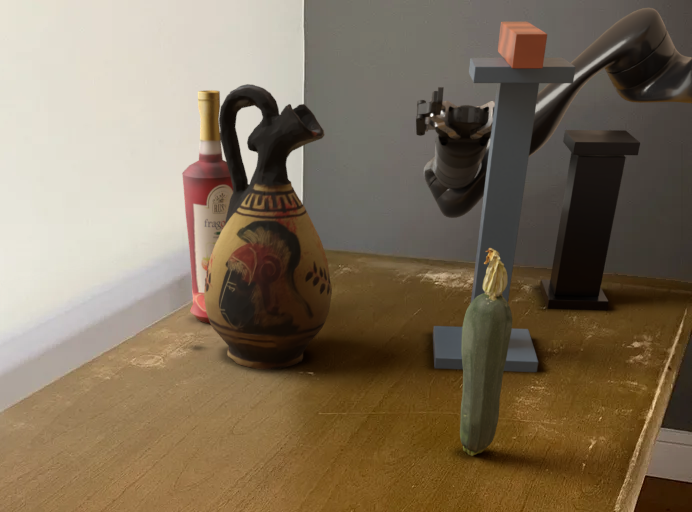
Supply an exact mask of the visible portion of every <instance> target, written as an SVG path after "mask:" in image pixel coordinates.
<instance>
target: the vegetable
mask: <svg viewBox="0 0 692 512" xmlns="http://www.w3.org/2000/svg"><path fill="white" fill-rule="evenodd" d="M485 252H489V253H488V256H487V257H486V262H485V263H484V264H487V263H488V262H489V261H490V263H489V265H488V268H487V270H486V275H485V278H484V281H483V290H484V292H485V293H483V294H481V295H479V296H477V297H476V298H475V299H474V300H473V301H472V302H471V301H470V304H469V305H468V306H467V309H466V311H465V314H464V318H463V321H462V327H463V328H462V349H461V353H462V364H463V369H462V372H463V373H462V395H461V404H460V422H459V423H460V425H459V438H460V443H461V445H462V450H463V452H464V453H467V455H469V456H470V457H474V456H475V455H477V454H482V453H483V452H484V451H485V450H486V449H487V448H488V447H489V446H490V445H491V444H492V442H493V440H494V438H495V435H496V431H497V427H498V423H499V417H500V404H501V403H500V402H501V401H500V400H501V391H502V383H503V376H504V372H505V371H504V366H505V362H506V358H507V352H508V345H509V341H510V336H511V330H512V329H513V314H512V309H511V307H510V304H509V301H508V302H507V301H506V300H505V299H504V298H503V296H502V292H503V291H504V290H505V288H506V286H507V272H506V269H505V268H504V264H503V263H502V262H501V261H500V257H499V255H500V254H499V253H498V252H497V251H496V250H494V249H492V248H489V249H488V251H485ZM489 258H490V260H489Z"/></svg>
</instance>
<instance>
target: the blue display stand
mask: <svg viewBox="0 0 692 512" xmlns="http://www.w3.org/2000/svg"><path fill="white" fill-rule="evenodd" d="M575 68H576V67H575V66H574V65H572V64H571V62H570V61H568V60H567V59H565V58H564V57H544V62H543V68H542V69H513V68H511V66H510V65H509V64H508V63H507V62H506V60H505V59H504V58H503V57H470V59H469V68H468V75H469V76H470V78H471V81H472V83H474V84H496V91H495V99H494V102H495V106H494V114H493V122H492V131H491V139H490V147H489V155H488V164H487V172H486V180H485V189H484V196H483V197H482V205H481V213H480V214H481V215H480V222H479V232H478V238H477V248H476V256H475V264H474V272H473V280H472V290H471V295H470V296H471V297H470V303H471V302H472V301H473V300H474V299H475V298H476V297H477V296H479V295H481V294H483V293H485V292H484V290H483V281H484V278H485V275H486V270H487V268H488V265H489V263H490V261H489V262H488V263H487V264H484V263H485V262H486V257H487V256H488V253H489V252H485V251H488V249H489V248H492V249H494V250H496V251H497V252H498V253H499V254H500V255H499V257H500V261H501V262H502V263H503V264H504V268H505V269H506V272H507V286H506V288H505V290H504V291H503V292H502V296H503V298H504V299H505V300H506V301H507V302H508V303H509V298H510V291H511V284H512V278H513V277H512V276H513V269H514V262H515V255H516V248H517V242H518V234H519V227H520V220H521V215H522V214H521V213H522V206H523V201H524V200H523V199H524V193H525V187H526V179H527V171H528V166H529V165H528V164H529V159H530V157H529V151H530V144H531V137H532V130H533V123H534V116H535V109H536V102H537V95H538V93H539V89H540V88H539V87H540V84H549V83H573V80H574V74H575ZM489 260H490V258H489ZM462 328H463V326H452V325H451V326H447V325H433V330H432V347H433V364H434V366H433V368H434V369H443V370H444V369H445V370H446V369H447V370H463V364H462V353H461V349H462ZM538 366H539V360H538V356H537V353H536V349H535V347H534V343H533V339H532V337H531V332H530V331H529V329H528V328H512V330H511V336H510V341H509V345H508V352H507V358H506V362H505V366H504V371H503V372H519V373H520V372H522V373H537V372H538Z"/></svg>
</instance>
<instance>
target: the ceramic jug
mask: <svg viewBox="0 0 692 512" xmlns="http://www.w3.org/2000/svg"><path fill="white" fill-rule="evenodd" d="M254 106H255V107H256V108H257V109H259V110H260V112H261V116H262V118H261V121H260V122H259V123H258V124H257V125H256V126H255V127H254V129H253V130H252V131H251V133H250V134H249V136H248V137H247V142H246V144H247V148H248V149H247V150H248V151H251V152H254V153H257V162H256V167H255V170H254V171H253V174H252V177H251V179H250V182H249V179H248V175H247V172H246V168H245V164H244V161H243V157H242V153H241V147H240V142H239V137H238V133H237V128H236V126H237V125H236V124H237V115H238V112H239V111H240V110H242V109H245V108H250V107H254ZM219 129H220V139H221V148H222V152H223V155H224V159H225V161H226V162H227V166H228V169H229V173H230V176H231V181H232V186H233V194H232V196H231V198H230V203H229V207H228V212H227V216H226V221H225V227H224V228H223V230H222V231H221V233H220V236H219V238H218V240H217V242H216V244H215V246H214V248H213V252H212V254H211V257H210V261H209V262H208V265H207V272H206V278H205V290H204V299H205V306H206V313H207V316H208V318H209V321H210V323H209V324H210V326H211V327H212V329H213V330H214V332H215V333H216V334H217V335H218V336H219V337H220V338H221V339H222V340H223V341H224V342H225V344H226V345H227V346H228V347H227V353H226V354H227V357H228V358H229V359H231V360H232V361H234V363H236V364H237V365H240V366H243V367H248V368H252V369H257V370H278V369H284V368H287V367H291V366H294V365H297V364H299V363H302V361H303V359H304V352H305V350H306V349H307V347H308V346H309V344H310V343H311V342H312V341H313V340H314V339H315V338H316V336H317V335H318V334H319V332H320V331H321V330H322V329H323V327H324V325H325V323H326V320H327V318H328V315H329V313H330V308H331V302H332V296H333V295H332V294H333V289H332V282H331V275H330V274H331V273H330V269H329V263H328V259H327V255H326V252H325V248H324V246H323V242H322V240H321V238H320V236H319V233H318V231H317V229H316V227H315V225H314V223H313V221H312V219H311V216H310V215H309V213H308V211H307V209H306V207H305V205H304V204H303V203H302V200H301V199H300V197H299V196H298V194H297V193H296V190H295V189H294V187H293V185H292V184H293V183H292V181H291V180H289V176H288V169H287V161H288V157H289V156H290V155H291V153H292V152H293V151H295V150H297V149H300V148H302V147H303V146H305V145H308V144H311V143H313V142H316V141H319V140H322V139H323V138H324V137H325V134H326V133H325V130H324V128H322V126H321V124H320V123H319V121H318V120H317V118H316V116H315V114H314V113H313V112H312V110H311V109H310V108H309V107H308V106H307V105H306V104H305V103H301V104H298V105H297V106H296V107H294V108H293V107H292V104H290V103H288V104H286V105H284V108H283V109H282V111H281V112H280V110H279V106H278V103H277V100H276V99H275V97H274V96H273V95H272V93H271V92H270V91H268V90H267V89H266V88H265V87H261V86H259V85H255V84H249V83H247V84H246V83H245V84H242V85H240V86H238V87H236V88H235V89H232V90H231V91H229V93H228V94H227V95H226V97H225V99H224V100H223V102H222V104H221V105H220V111H219Z"/></svg>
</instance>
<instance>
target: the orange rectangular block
mask: <svg viewBox="0 0 692 512" xmlns="http://www.w3.org/2000/svg"><path fill="white" fill-rule="evenodd" d="M547 40H548V33H546V32H544V31H543V30H541V29H540V28H538V27H537V26H535V25H534V24H532V23H530V22H529V21H501V22H500V28H499V35H498V44H497V52H498V54H499V55H500V56H501V58H504V59H505V60H506V62H507V63H508V64H509V65H510V66H511V68H513V69H542V68H543V62H544V58H545V55H546V49H547V48H546V47H547Z"/></svg>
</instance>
